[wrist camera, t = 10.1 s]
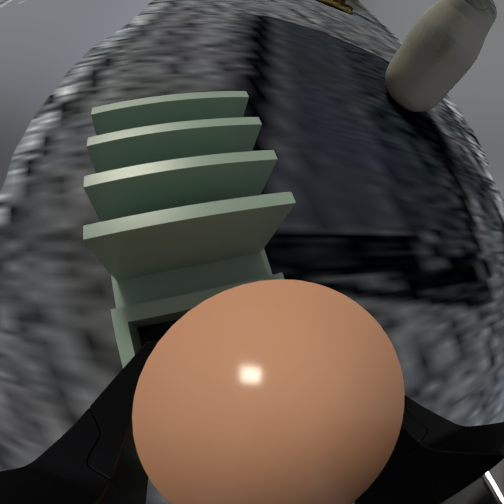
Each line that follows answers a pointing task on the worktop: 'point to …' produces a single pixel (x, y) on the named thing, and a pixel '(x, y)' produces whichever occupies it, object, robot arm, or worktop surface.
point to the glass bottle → (438, 52)
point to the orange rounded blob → (269, 399)
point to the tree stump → (338, 5)
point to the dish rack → (178, 205)
